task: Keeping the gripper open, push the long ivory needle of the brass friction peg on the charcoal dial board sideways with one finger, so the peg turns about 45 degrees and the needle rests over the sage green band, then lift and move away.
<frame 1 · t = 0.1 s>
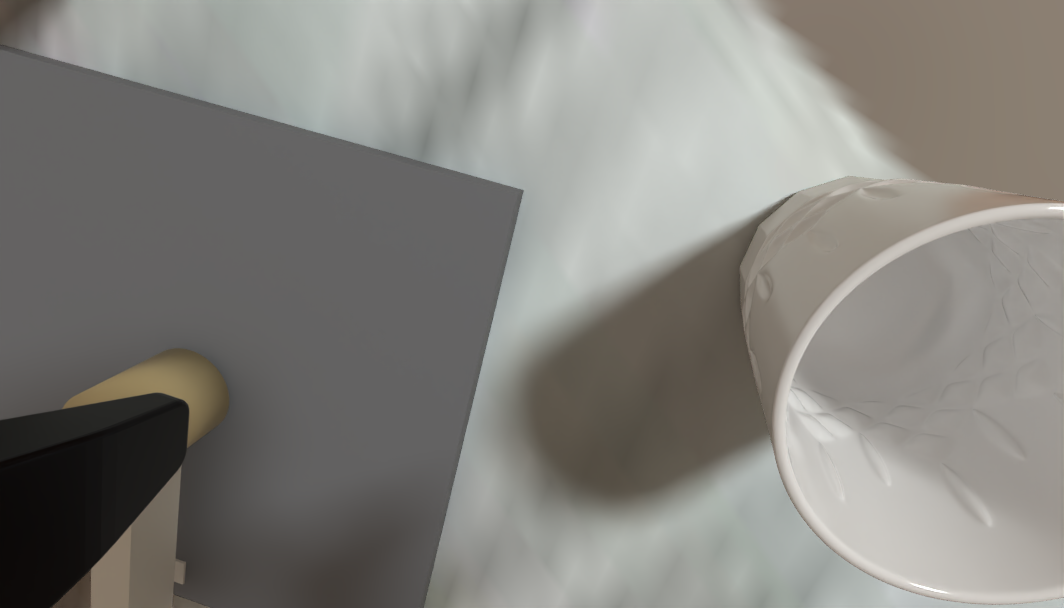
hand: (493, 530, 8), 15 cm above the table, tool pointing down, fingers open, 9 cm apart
white cup: (843, 278, 21), on the table
dial board: (209, 377, 26), on the table
peg needle: (146, 509, 25), point 3 cm above the table, hinge at 0.0°
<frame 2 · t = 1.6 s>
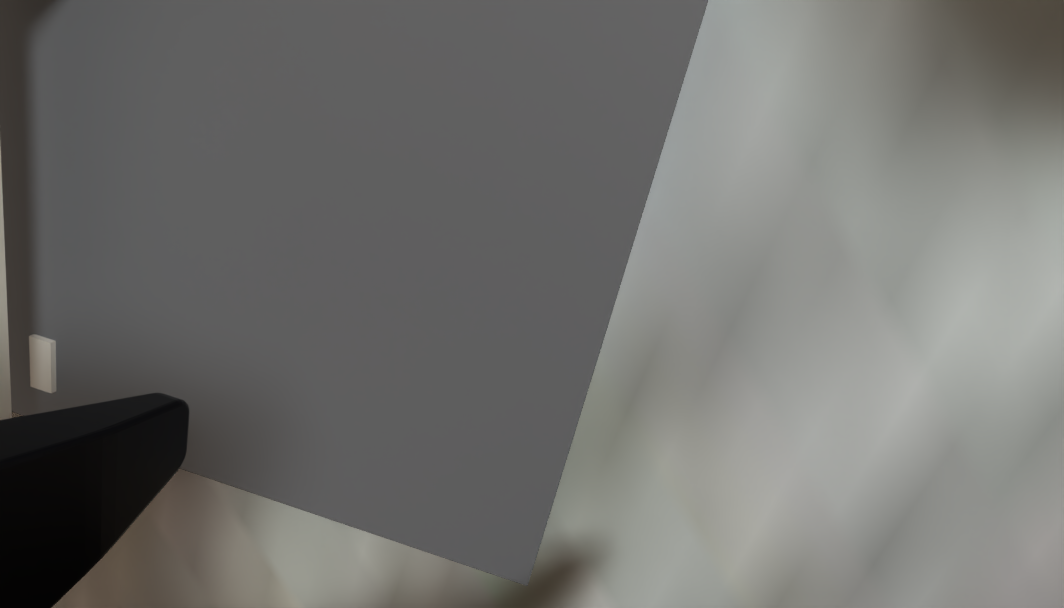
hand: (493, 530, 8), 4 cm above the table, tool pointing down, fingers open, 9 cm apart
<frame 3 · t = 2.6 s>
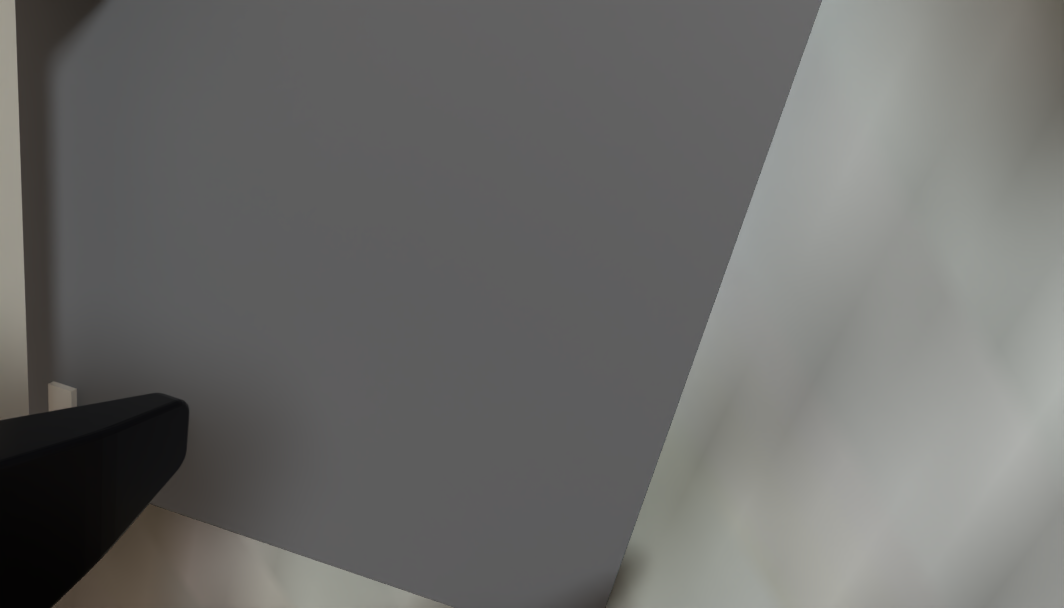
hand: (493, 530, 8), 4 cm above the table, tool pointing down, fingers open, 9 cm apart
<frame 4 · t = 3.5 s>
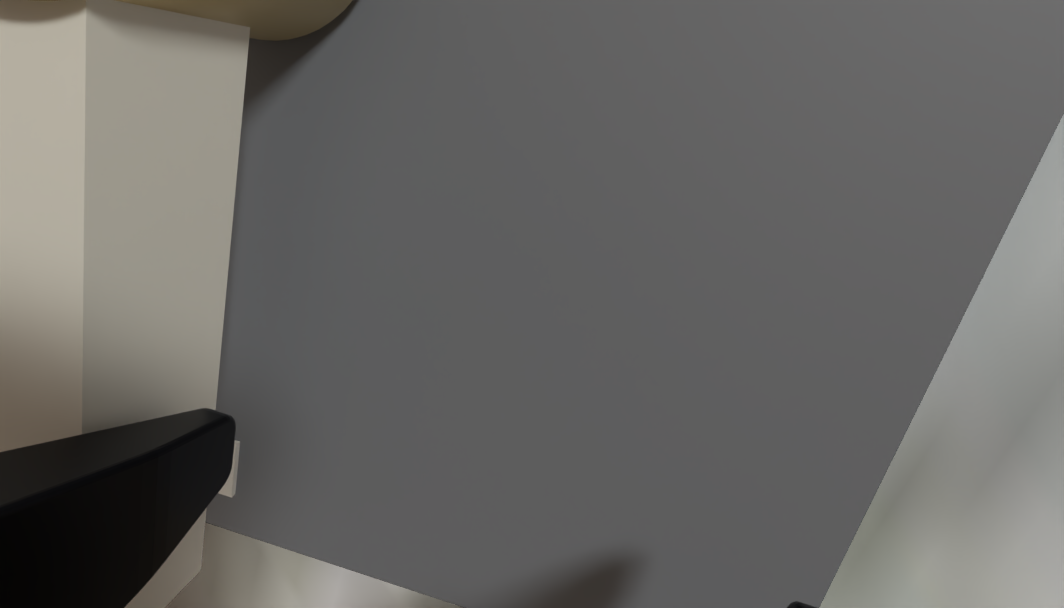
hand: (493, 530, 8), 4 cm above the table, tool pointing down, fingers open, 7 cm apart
peg needle: (137, 227, 8), point 3 cm above the table, hinge at -0.9°, touching gripper
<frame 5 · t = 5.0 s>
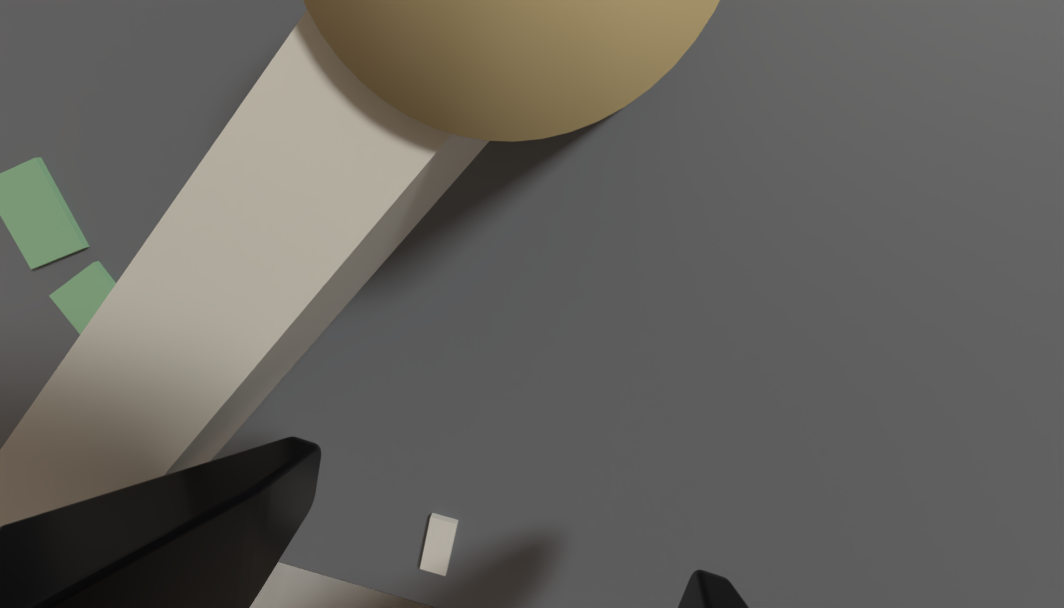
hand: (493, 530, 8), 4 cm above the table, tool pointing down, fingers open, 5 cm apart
dial board: (564, 2, 10), on the table
peg needle: (301, 246, 8), point 3 cm above the table, hinge at -30.2°, touching gripper
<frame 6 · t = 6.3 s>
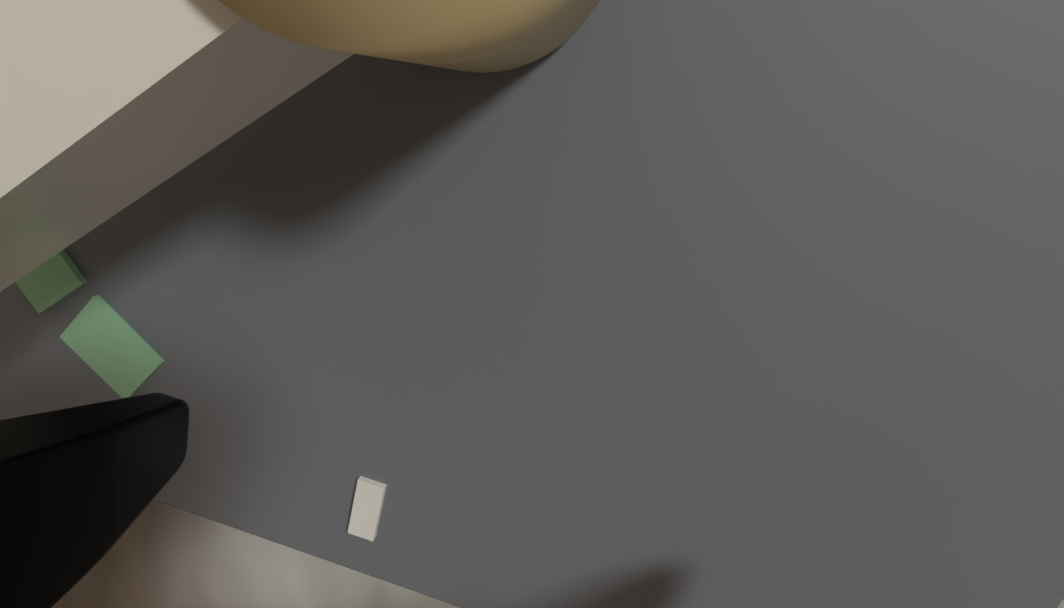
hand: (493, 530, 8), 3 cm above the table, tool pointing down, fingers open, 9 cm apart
peg needle: (125, 94, 7), point 3 cm above the table, hinge at -46.6°
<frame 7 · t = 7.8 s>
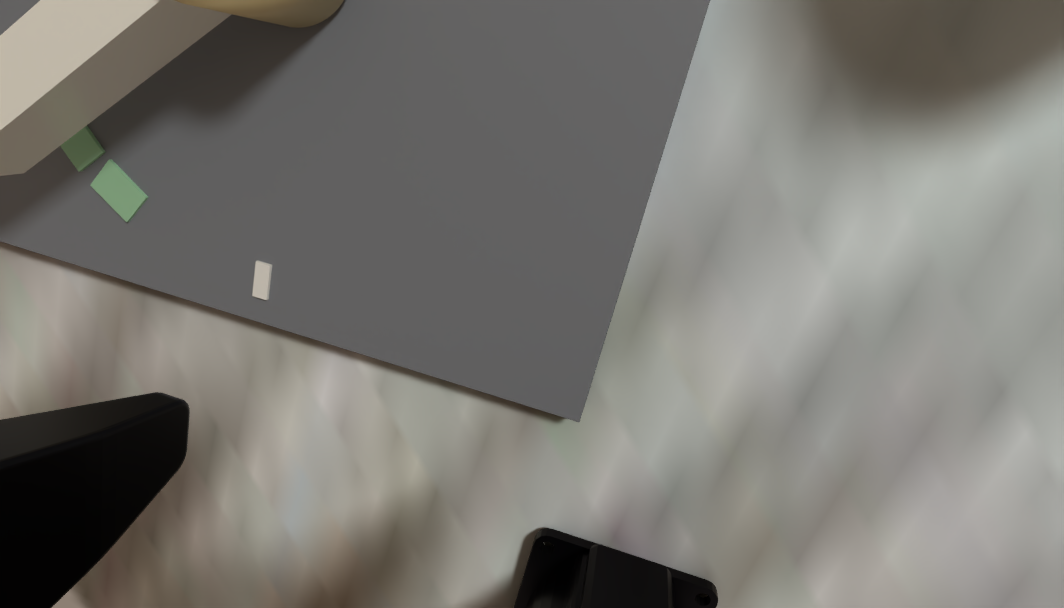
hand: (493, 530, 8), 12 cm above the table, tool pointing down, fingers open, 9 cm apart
peg needle: (124, 34, 16), point 3 cm above the table, hinge at -46.9°
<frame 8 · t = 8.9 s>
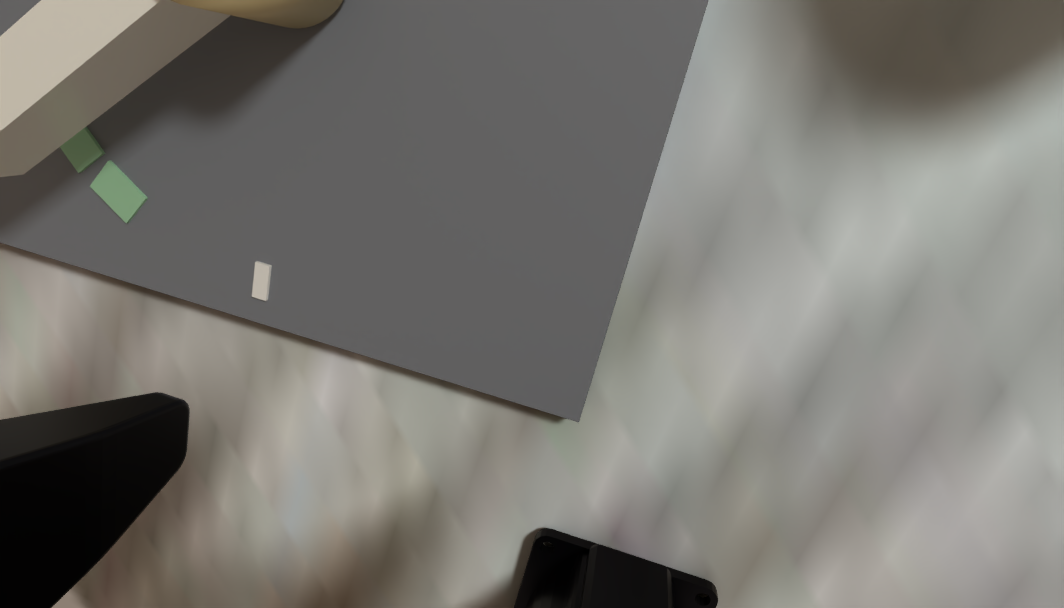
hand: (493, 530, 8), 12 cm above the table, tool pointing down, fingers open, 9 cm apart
peg needle: (123, 36, 16), point 3 cm above the table, hinge at -46.9°
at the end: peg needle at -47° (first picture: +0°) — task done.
